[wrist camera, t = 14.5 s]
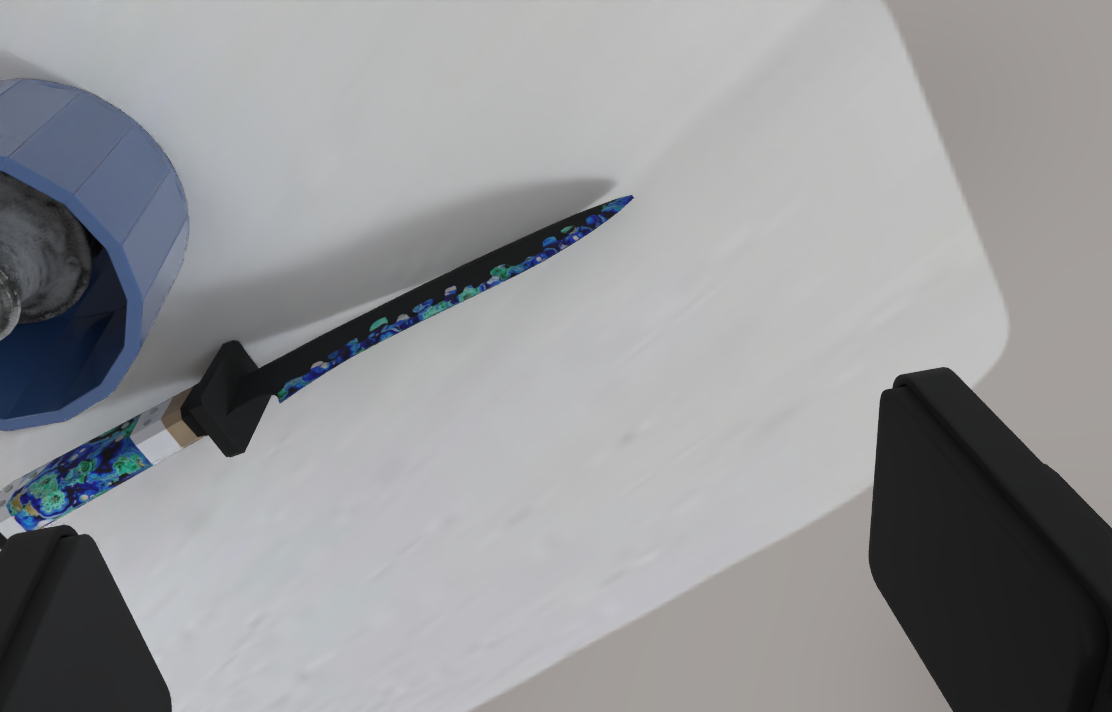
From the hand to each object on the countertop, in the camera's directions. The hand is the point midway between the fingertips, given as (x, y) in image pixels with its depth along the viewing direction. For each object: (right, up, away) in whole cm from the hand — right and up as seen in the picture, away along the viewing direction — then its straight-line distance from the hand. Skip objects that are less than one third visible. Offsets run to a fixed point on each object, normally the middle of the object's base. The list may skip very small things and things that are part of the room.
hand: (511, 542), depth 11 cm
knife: (-10, +3, +30) cm, 32 cm away
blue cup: (-19, +8, +25) cm, 33 cm away
